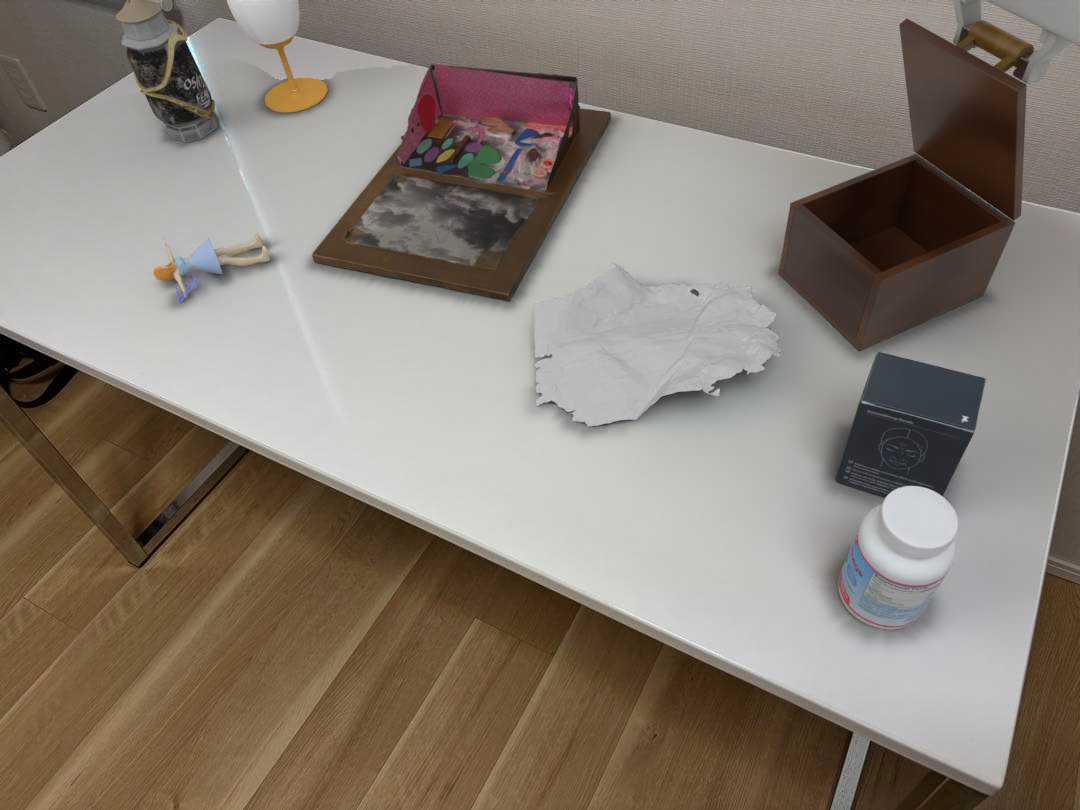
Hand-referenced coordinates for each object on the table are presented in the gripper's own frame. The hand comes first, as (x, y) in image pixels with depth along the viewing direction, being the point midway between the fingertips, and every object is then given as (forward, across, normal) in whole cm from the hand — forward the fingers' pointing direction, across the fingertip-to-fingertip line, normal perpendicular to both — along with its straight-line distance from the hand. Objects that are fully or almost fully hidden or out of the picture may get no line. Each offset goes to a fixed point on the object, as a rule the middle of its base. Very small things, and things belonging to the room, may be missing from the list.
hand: (995, 61), depth 65 cm
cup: (+22, +72, +48) cm, 89 cm away
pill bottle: (+22, -26, +27) cm, 44 cm away
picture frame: (+22, +37, +34) cm, 55 cm away
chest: (+21, 0, +6) cm, 22 cm away
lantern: (+22, +71, +63) cm, 97 cm away
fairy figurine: (+22, +38, +65) cm, 79 cm away
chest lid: (+5, 0, +2) cm, 5 cm away
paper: (+22, +4, +30) cm, 37 cm away
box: (+22, -18, +19) cm, 34 cm away
